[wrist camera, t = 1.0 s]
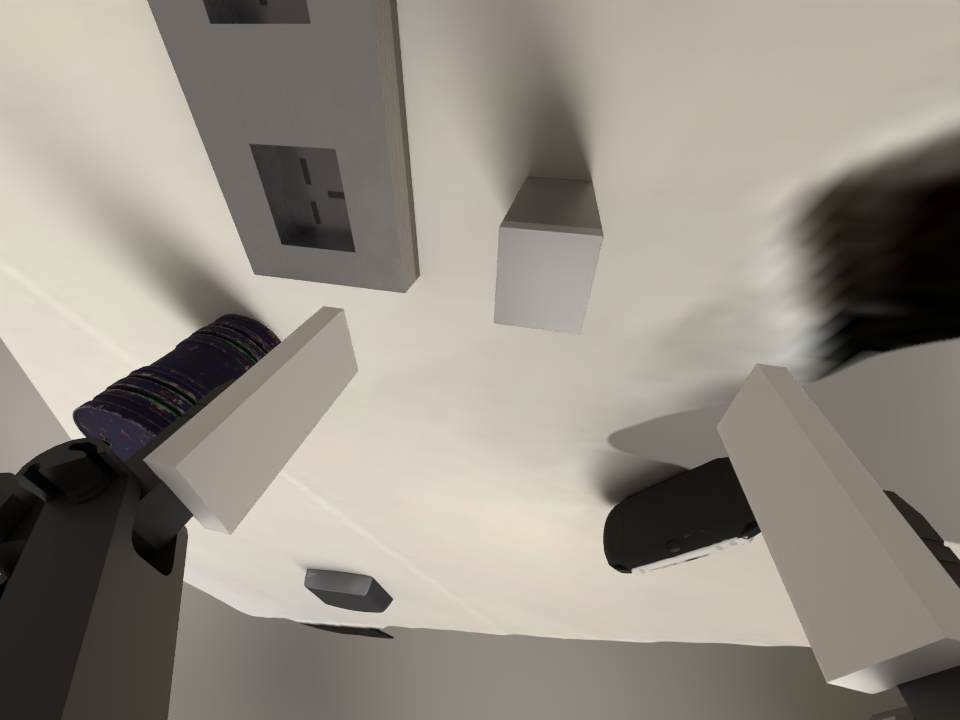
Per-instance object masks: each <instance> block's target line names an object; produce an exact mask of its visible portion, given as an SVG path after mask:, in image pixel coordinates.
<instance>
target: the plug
mask: <svg viewBox="0 0 960 720" xmlns="http://www.w3.org/2000/svg"><path fill="white" fill-rule="evenodd" d="M603 237H604V236H603V231H602V226H601V221H600V216H599V211H598V207H597V202H596V197H595V192H594V187H593V182H592V181H581V180H566V179H551V178H537V177H527V178H526V180H525V182H524V184H523V186H522V187H521V189H520V191H519V193H518V195H517V196H516V198H515V200H514V202H513V203H512V205H511V207H510V209H509V211H508V212H507V214H506V216H505V218H504V220H503V221H502V223H501V225H500V227H499V242H498V260H497V277H496V295H495V313H494V323H497V324H504V325H512V326H519V327H527V328H534V329H542V330H549V331H557V332H564V333H572V334H581V330H582V325H583V321H584V317H585V313H586V308H587V304H588V300H589V296H590V292H591V287H592V283H593V279H594V275H595V270H596V266H597V262H598V258H599V254H600V249H601V245H602V241H603Z"/></svg>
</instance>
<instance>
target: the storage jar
mask: <svg viewBox="0 0 960 720" xmlns="http://www.w3.org/2000/svg"><path fill="white" fill-rule="evenodd" d="M280 343H281V341H280V340H279V338H278V337H277V336H276V335H275V334H274V333H273V332H272V331H270V330H269V329H268V328H267V327H265V326H264V325H262V324H261V323H259V322H257V321H255V320H253V319H251V318H248V317H246V316H242V315H237V314H228V315H224V316H222V317H220V318H219V319H217V320H216V321H215V322H214V323H211V324H209V325H208V326H205V327H203V328H201V329H199V330H197V331H196V332H194V333H193V334H192V335H191V336H190V337H188V338H187V339H185V340H184V341H182V342H180V343H179V344H178V345H177V346H176V348H175V349H174V350H173V351H171V352H170V353H168V354H167V355H165V356H164V357H162V358H160V359H159V360H157V361H156V362H154V363H153V364H151V365H150V366H144V367H142V368H140V369H138V370H135V371H132V372H131V373H130V374H129V375H128V376H127V377H125V378H122V379H120V380H118V381H117V382H115V383H114V384H112V385H111V386H109V387H108V388H107V389H106V390H105V391H103V392H102V393H100V394H99V395H97V396H96V397H94V399H93V400H92V401H88V402H86V403H84V404H83V405H81V406H80V407H78V408H77V409H75V410H74V411H73V420H74V422H75V424H76V426H77V427H78V429H79V430H80V431H81V432H82V433H83V435H84V436H85V437H86V438H87V437H89V438H99V439H101V440H102V441H103V442H104V443H106V444H107V445H108V446H109V448H110V449H111V450H112V451H113V452H114V453H115V454H116V455H117V456H118V457H119V458H120V459H121V460H122V461H123V462H124V461H126V460H127V459H128V458H130V457H131V456H132V455H133V454H135V453H136V452H137V451H138V450H139V449H141V448H142V447H143V446H144V445H146V444H147V443H148V442H149V441H150V440H152V439H153V438H154V437H155V436H157V435H158V434H159V433H160V432H161V431H163V430H164V429H165V428H166V427H168V426H169V425H170V424H171V423H172V422H174V421H175V420H176V419H177V418H178V417H182V416H183V413H185V412H186V411H187V410H188V409H189V408H191V407H192V406H193V405H194V406H196V405H197V402H198V401H199V400H200V399H202V398H203V397H204V396H205V395H207V394H208V393H209V392H210V391H211V390H213V389H215V388H216V387H218V386H220V385H222V384H224V383H226V382H228V381H230V380H232V379H236V380H237V379H239V378H240V377H241V376H242V375H243V374H244V373H246V372H247V371H248V370H249V369H250V368H252V367H253V366H254V365H255V364H256V363H257V362H259V361H260V360H261V359H262V358H263V357H264V356H266V355H267V354H268V353H269V352H270V351H272V350H273V349H274V348H275V347H276V346H277V345H279V344H280Z"/></svg>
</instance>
